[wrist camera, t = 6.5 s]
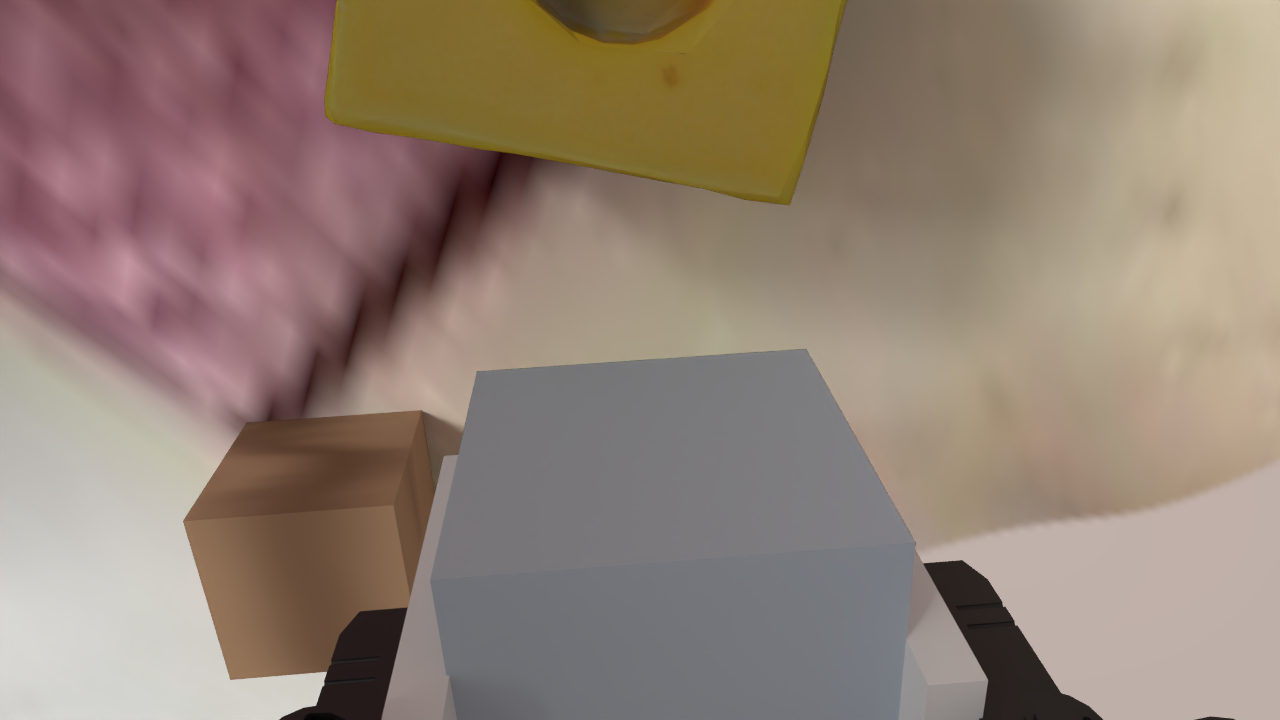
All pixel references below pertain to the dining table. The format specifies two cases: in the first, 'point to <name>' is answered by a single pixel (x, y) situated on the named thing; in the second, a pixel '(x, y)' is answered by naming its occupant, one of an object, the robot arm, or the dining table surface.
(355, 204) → the dining table surface
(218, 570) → the walnut cube
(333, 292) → the dining table surface
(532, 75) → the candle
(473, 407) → the slate block
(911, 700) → the robot arm
